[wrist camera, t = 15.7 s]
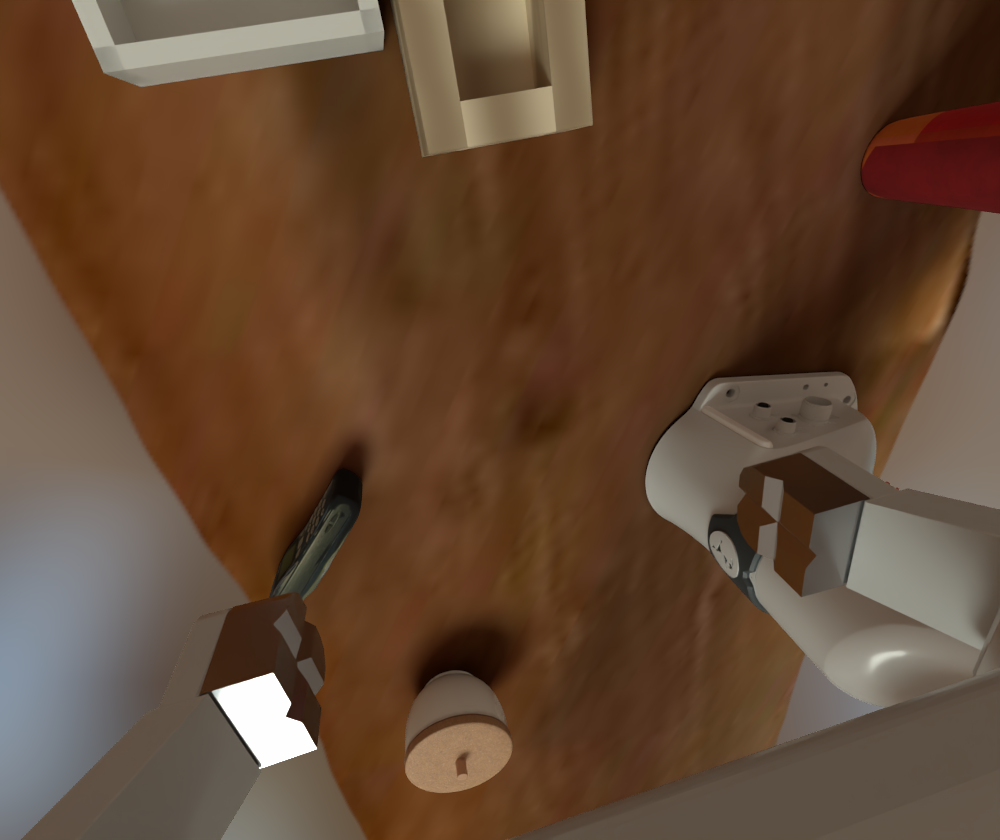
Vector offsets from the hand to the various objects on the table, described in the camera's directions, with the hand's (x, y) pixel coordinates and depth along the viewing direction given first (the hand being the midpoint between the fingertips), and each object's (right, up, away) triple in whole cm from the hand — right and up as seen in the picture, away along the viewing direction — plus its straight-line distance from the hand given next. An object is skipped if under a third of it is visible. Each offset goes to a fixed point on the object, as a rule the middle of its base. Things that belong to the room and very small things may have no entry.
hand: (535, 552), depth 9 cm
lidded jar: (-6, -28, +48) cm, 55 cm away
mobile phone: (-17, -8, +36) cm, 40 cm away
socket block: (-2, +25, +23) cm, 34 cm away
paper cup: (+31, +23, +32) cm, 50 cm away
